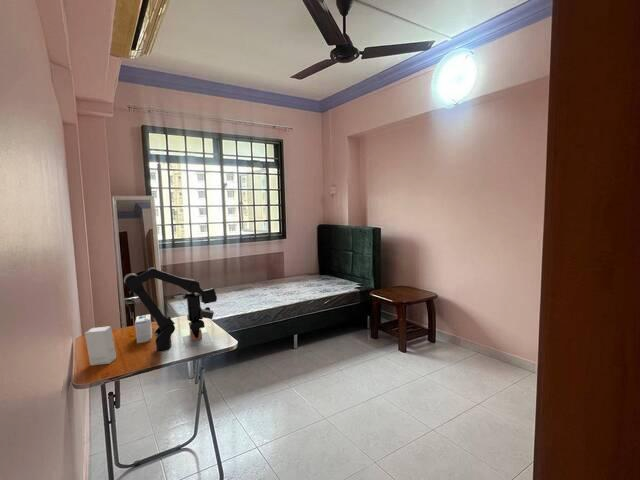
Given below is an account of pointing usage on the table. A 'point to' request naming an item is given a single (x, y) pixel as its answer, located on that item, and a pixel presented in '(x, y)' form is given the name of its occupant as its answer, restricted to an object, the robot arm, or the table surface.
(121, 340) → the table surface
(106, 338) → the skincare box
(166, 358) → the table surface
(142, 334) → the light bulb box
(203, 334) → the board
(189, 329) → the cream block
